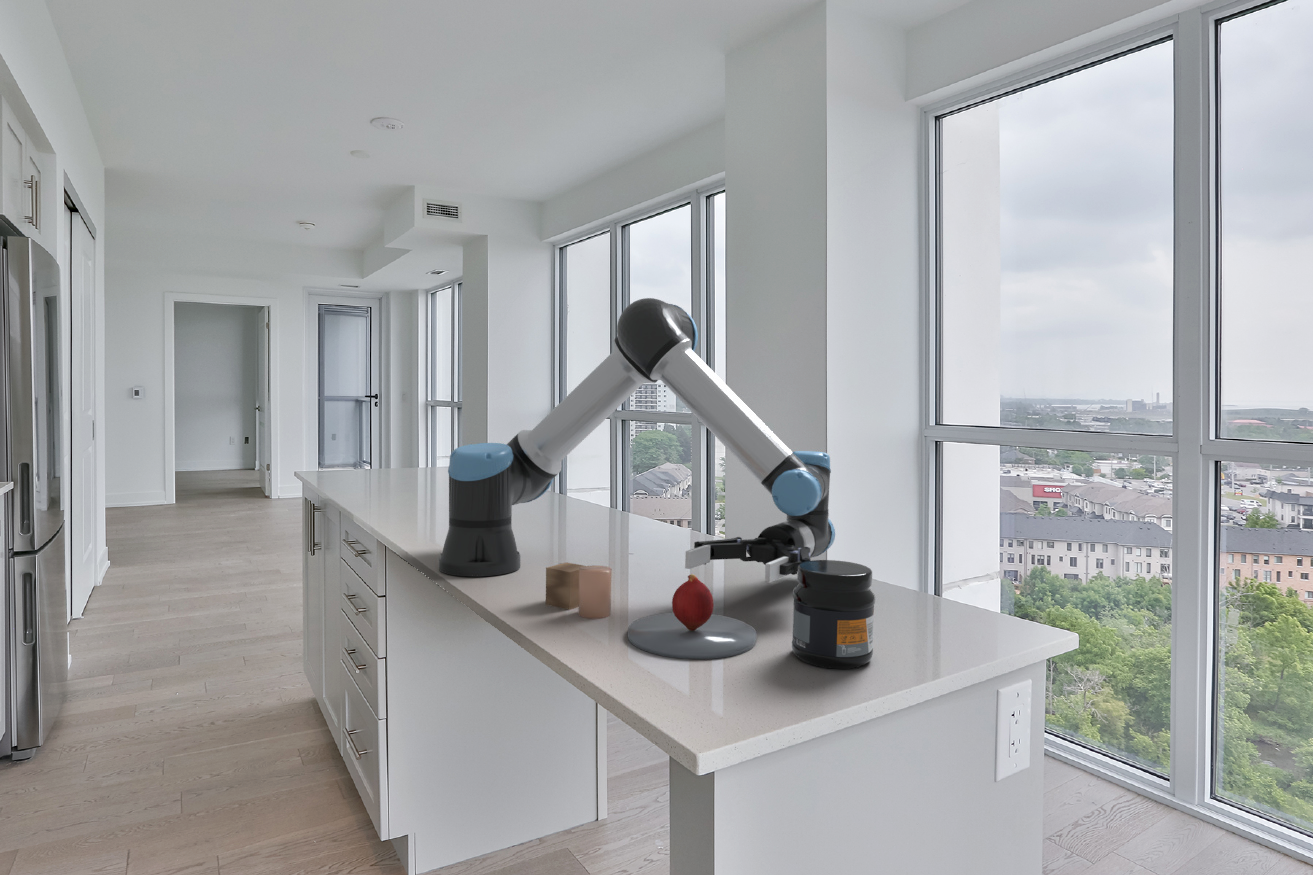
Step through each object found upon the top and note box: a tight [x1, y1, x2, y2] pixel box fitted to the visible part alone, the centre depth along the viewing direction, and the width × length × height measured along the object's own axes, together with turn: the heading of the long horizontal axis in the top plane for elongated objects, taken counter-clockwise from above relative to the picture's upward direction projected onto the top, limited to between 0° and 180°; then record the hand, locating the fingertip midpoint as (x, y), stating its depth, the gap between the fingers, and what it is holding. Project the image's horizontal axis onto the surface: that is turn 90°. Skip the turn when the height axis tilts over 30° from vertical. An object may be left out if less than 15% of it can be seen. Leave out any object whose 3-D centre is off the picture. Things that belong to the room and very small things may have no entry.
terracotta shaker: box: [577, 565, 613, 620], centre depth 122 cm, size 5×5×7 cm
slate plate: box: [627, 612, 757, 660], centre depth 111 cm, size 18×18×1 cm
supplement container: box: [791, 559, 876, 670], centre depth 104 cm, size 10×10×12 cm
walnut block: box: [545, 562, 585, 611], centre depth 127 cm, size 5×5×6 cm
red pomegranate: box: [671, 573, 715, 631], centre depth 111 cm, size 6×6×8 cm
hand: (726, 566), depth 119 cm, fingers open, 13 cm apart
